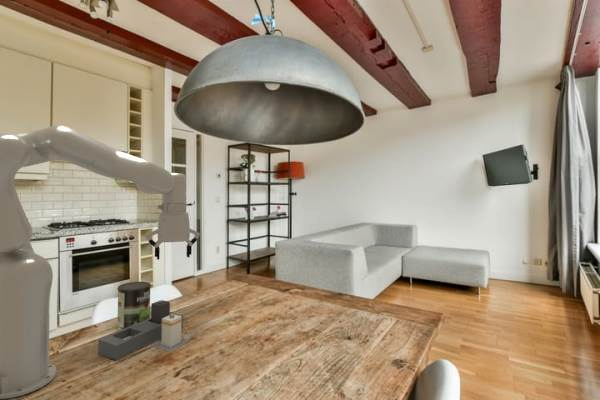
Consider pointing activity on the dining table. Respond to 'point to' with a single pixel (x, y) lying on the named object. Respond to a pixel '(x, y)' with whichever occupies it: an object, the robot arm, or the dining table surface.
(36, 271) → the robot arm
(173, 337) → the plug
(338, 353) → the dining table surface
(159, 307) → the twin plug
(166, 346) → the mat
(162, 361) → the dining table surface
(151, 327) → the dark grey socket base
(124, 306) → the coffee can
